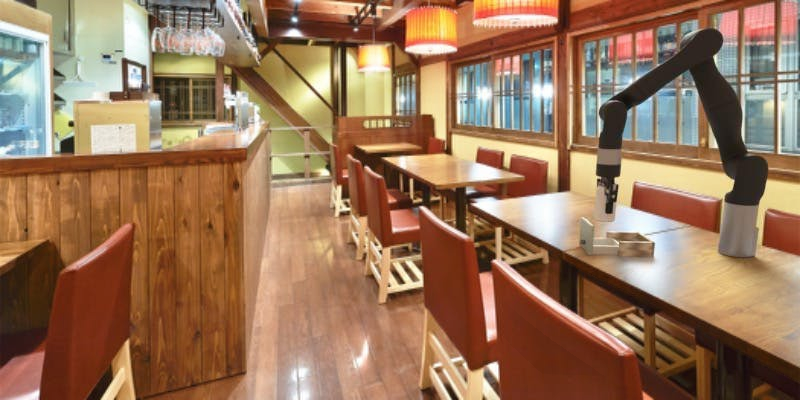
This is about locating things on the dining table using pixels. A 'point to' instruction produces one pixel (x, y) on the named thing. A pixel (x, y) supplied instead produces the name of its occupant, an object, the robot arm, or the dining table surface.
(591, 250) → the bracket
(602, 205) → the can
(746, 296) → the dining table surface
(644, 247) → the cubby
